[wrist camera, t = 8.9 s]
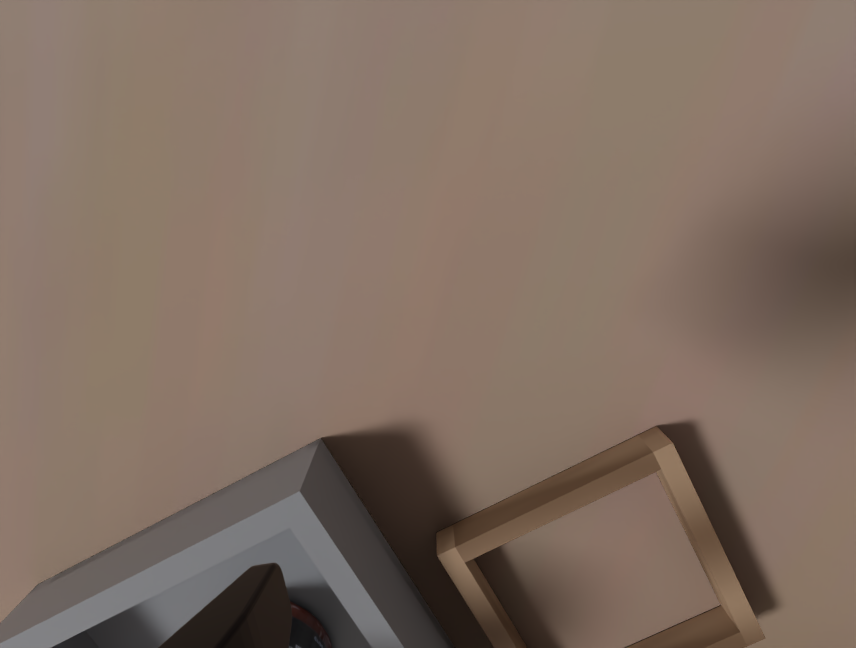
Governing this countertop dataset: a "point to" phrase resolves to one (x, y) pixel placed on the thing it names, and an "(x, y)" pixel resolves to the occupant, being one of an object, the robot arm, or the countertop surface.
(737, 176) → the countertop surface
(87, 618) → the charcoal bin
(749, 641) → the tan wooden square frame
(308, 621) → the supplement bottle
